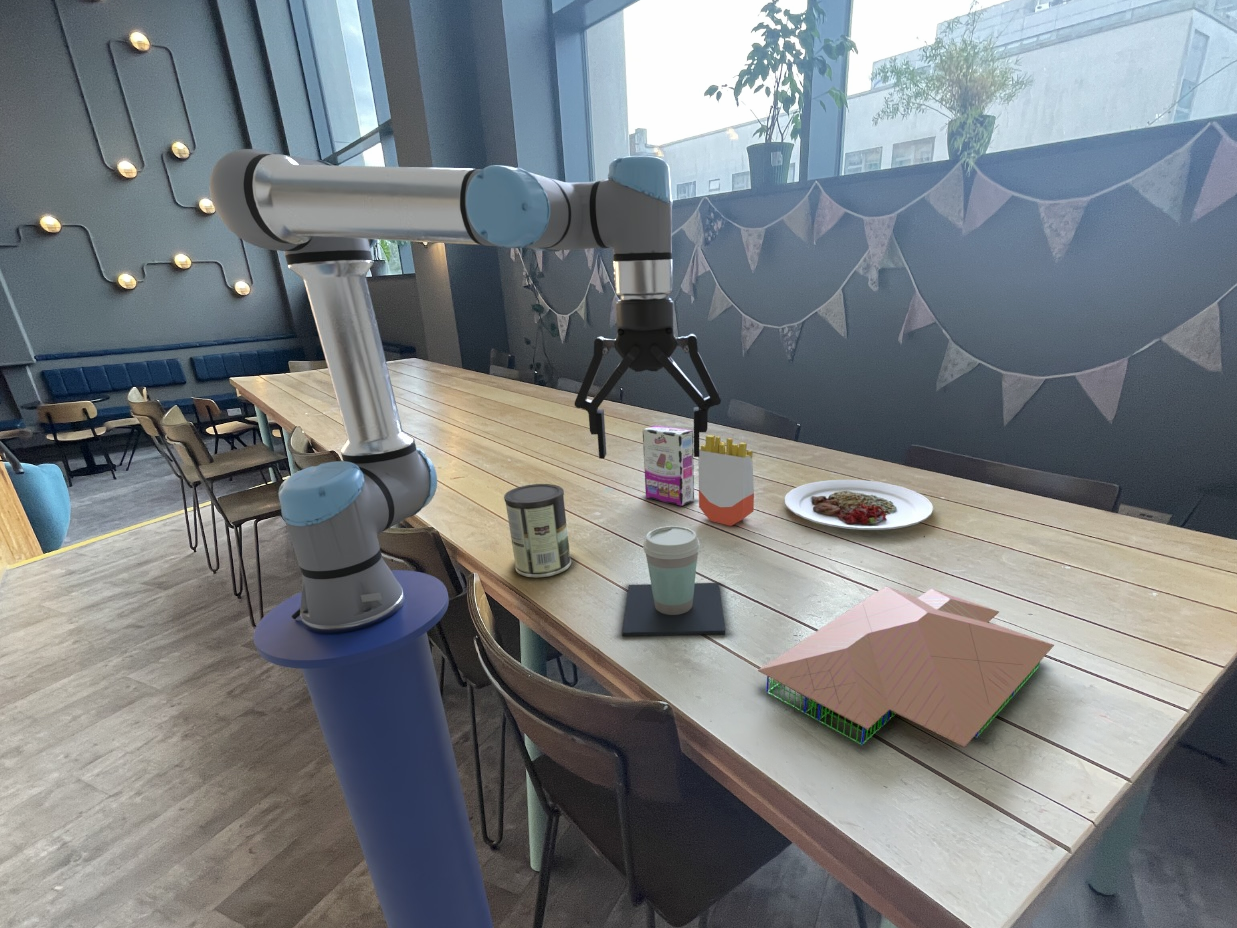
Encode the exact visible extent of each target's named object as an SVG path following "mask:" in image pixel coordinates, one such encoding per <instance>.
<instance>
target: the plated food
mask: <svg viewBox="0 0 1237 928" xmlns="http://www.w3.org/2000/svg"><path fill="white" fill-rule="evenodd" d="M784 505H785V506H786V508H787V509H788V510H789V511H790V512H792V513H793V514H794V515H796V516H798V517H800V518H802V519H804V520H807V521H810V522H813V523H816V524H821V525H824V526H828V527H833V528H841V529H847V530H857V531H860V530H861V531H883V530H894V529H901V528H907V527H911V526H914V525H918V524H920V523H922V522H924V521H926V520H927V519H929V518H930V517H931V516H932V513H933V511H934V507H933V504H932V502H931V501H930V500H929V499H928V498H927V497H925V496H924V495H923V494H921V493H919V492H917V491H915V490H912V489H909V488H906V487H904V486H900V485H897V484H892V483H887V482H881V481H875V480H866V479H865V480H863V479H827V480H820V481H819V480H818V481H814V482H808V483H804V484H801V485H799V486H796V487H795V488H792V489H790V491H788V492H787V493H786V494H785V496H784Z"/></svg>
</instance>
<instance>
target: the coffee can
mask: <svg viewBox="0 0 1237 928" xmlns="http://www.w3.org/2000/svg"><path fill="white" fill-rule="evenodd" d="M564 495H565V490H564V488H563V487H562V486H559V485H557V484H552V483H551V484H550V483H534V484H527V485H522V486H518V487H515V488H513V489H510V490H508V491H506V493H505V494H504V495H503V499H504V502H505V507H506V514H507V519H508V526H509V533H510V540H511V545H512V546H511V547H512V552H513V558H514V559H513V560H514V566H515V569H514V570H515V572H516V573H517V574H519V575H520V576H523V577H527V578H536V579H537V578H547V577H552V576H557V575H558V574H561V573H563V572H565V571H566V570H568V569H569V568H570V567H571V565H572V558H571V551H570V542H569V535H568V534H569V533H568V526H567V516H566V507H565V499H564Z"/></svg>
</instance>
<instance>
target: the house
mask: <svg viewBox="0 0 1237 928" xmlns="http://www.w3.org/2000/svg"><path fill="white" fill-rule="evenodd" d="M999 613H1000V611H999V610H996V609H993V608H990V607H987V606H984V605H981V604H978V603H975V602H972V601H968V600H966V599H963V598H960V597H957V596H954V595H951V594H948V593H945V592H942V591H939V590H936V589H933V588H929V589H928V590H927V591H925V592H924V593H922V594H921V595H919V596H916V595H913V594H909V593H906V592H905V591H901V590H898V589H895V588H893V587H890V586H887V585H886V586H885V585H884V586H883V587H882V588H880V589H878V590H877V591H876V592H874V593H872V594H871V595H869V596H868V597H867V598H865V599H863V600H862V601H861V602H859V603H857V604H856V605H854V606H853V607H852V608H850V609H848V610H847V611H845V612H844V613H842V614H841V615H839V616H838V617H836V618H835V619H833V620H832V621H830V622H829V623H826V625H824V626H822V627H821V628H819V629H818V630H816V631H815V632H813V633H812V634H810V635H808V636H807V637H805V638H804V639H802V640H801V641H800V642H798V643H797V644H795V645H794V646H791V648H789V649H788V650H786V651H785V652H783V653H782V654H780V655H779V656H776V658H773V660H771V661H769V662H768V663H766V664H765V665H763V666H762V667H760V668H759V669H757V672H759V673H760V674H763V675H764V676H766V693H768V694H769V695H771V696H773V697H775V698H776V699H779V700H781V702H784V703H786V704H787V705H789V706H791V707H793V708H795V709H797V710H798V711H800V712H801V713H804V714H805V715H807V716H809V717H811V718H812V719H815V720H816V721H818V722H820V723H821V724H823V725H825V726H827V727H828V728H830V729H832V730H834V731H835V732H838V733H839V734H841V735H843V736H845V737H847V738H848V739H849V740H852V741H854V742H855V743H857V744H859V745H861V746H863V745H864V744H865V743H866V742H868V740H869V739H870V738H872V737H873V736H874V735H875V734H876V733H877V732H878V731H879V730H880V729H881V728H882V727H884V726H885V725H886V724H887V723H888V722H889V721H890V720H891V719H893V717H894V716H896V715H898V716H901V717H902V718H905V719H906V720H908V721H910V722H913V723H915V724H916V725H918V726H921V727H922V728H925V729H927V730H929V731H930V732H933V733H935V734H937V735H939V736H940V737H943V738H945V739H947V740H949V741H951V742H954V744H957V745H959V746H961V747H963V748H965V747H967V745H968V744H969V743H970V742H971V740H972V739H973V738H974V737H975V738H977V739H978V737H979V736H981V734H982V733H983V731H984V730H985V729H986V728H987V727H988V726H989V725H990V723H991V722H992V721H993V720H995V718H996V717H997V715H998V714H999V713H1000V712H1001V711H1002V710H1003V708H1005V706H1007V704H1008V703H1009V702H1010V701H1011V699H1012V698H1013V697H1014V696H1015V695H1016V694H1017V693H1018V691H1019V690H1021V688H1022V687H1023V686H1024V685H1025V684H1026V683H1027V681H1028V680H1029V679H1030V678H1031V676H1032V675H1033V674H1035V672H1036V671H1037V670H1038V669H1039V667H1040V665H1041V661H1042V660H1043V659H1044V658H1045V657H1046V656H1047V655H1048V654H1049V652H1050V651H1051V650H1052V649H1053V648H1054V646H1055V644H1053V643H1050V642H1048V641H1045V640H1041V639H1038V638H1036V637H1033V636H1030V635H1028V634H1025V633H1022V632H1018V631H1016V630H1013V629H1010V628H1007V627H1004V626H1003V625H998V624H996V623H993V622H990V621H991V620H992V619H994V618H995V617H996V616H997V615H998V614H999ZM776 682H777V684H776ZM769 683H770V684H769ZM780 684H781V685H783V687H782V686H780ZM776 687H777V695H775V693H774V692H775V691H774V690H775V688H776ZM786 687H787V688H789V691H788V690H787V689H786ZM780 689H781V690H783V695H782V696H783V699H782V698H780ZM771 690H772V692H770V691H771ZM791 690H793V691H794V693H793V692H791ZM786 692H787V693H789V694H788V701H786V700H785V693H786ZM797 693H798V694H800V696H798V695H797ZM791 695H793V696H794V704H791ZM803 696H804V698H802V697H803ZM797 698H798V699H800V700H799V701H800V702H799V708H798V707H797V706H796V701H797V700H796V699H797ZM802 701H804V704H803V705H804V706H803V710H802ZM817 704H818V706H817ZM807 705H808V706H807ZM807 707H808V708H807ZM824 707H825V708H824ZM813 708H814V713H813ZM816 710H817V718H816ZM809 711H810V714H809V713H807V712H809ZM823 712H824V714H823ZM830 712H831V713H830ZM834 713H835V714H838V715H837V716H836V715H834ZM813 715H814V716H813ZM827 715H830V716H831V718H830V725H829V724H827ZM890 715H891V716H890ZM840 716H841V717H843V718H844V720H843V719H841V718H840ZM833 717H834V718H835V719H837V724H836V728H834V727H833ZM822 718H824V722H823V721H821V719H822ZM846 720H849V721H851V722H850V723H848V722H847V721H846ZM839 721H840V722H842V723H843V730H842V731H843V732H841V731H840V730H839ZM846 724H847V725H848V726H850V728H849V729H850V730H849V736H848V735H847V734H845V730H846ZM853 724H856V725H857V727H855V726H853ZM876 725H877V728H876ZM860 727H862V729H860ZM852 728H853V729H855V730H857V731H856V738H855V739H854V738H852V737H851V736H852ZM869 729H870V730H869ZM872 730H873V732H872ZM859 731H860V732H861V737H860V738H861V739H860V741H858V736H859ZM865 732H866V735H865ZM868 735H869V736H868ZM864 738H865V739H864Z"/></svg>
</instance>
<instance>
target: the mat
mask: <svg viewBox="0 0 1237 928" xmlns="http://www.w3.org/2000/svg"><path fill="white" fill-rule="evenodd" d="M621 635H622V637H642V636H643V637H645V636H646V637H647V636H649V637H650V636H693V635H695V636H698V635H699V636H700V635H702V636H703V635H726V625H725V618H724V611H723V603H722V597H721V589H720V583H719V582H695V585H694V594H693V603H692V608H691V609H690V610H689V611H688V612H686V613H683V614H679V615H667V614H663V613H661V612H659V611H658V610H657V609H656V608H655V603H654V597H653V592H652V586H651V583H650V584H647V583H646V584H645V583H644V584H628V590H627V597H626V604H625V611H624V617H623V623H622V630H621Z"/></svg>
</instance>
